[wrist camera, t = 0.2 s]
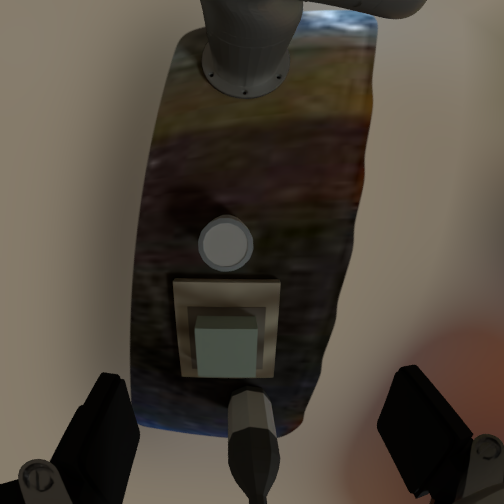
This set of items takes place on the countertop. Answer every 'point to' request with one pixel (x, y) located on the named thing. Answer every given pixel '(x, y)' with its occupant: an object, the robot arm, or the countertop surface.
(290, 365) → the countertop surface
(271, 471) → the wine bottle
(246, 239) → the grey tapered cup
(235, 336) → the sage block
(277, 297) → the board
